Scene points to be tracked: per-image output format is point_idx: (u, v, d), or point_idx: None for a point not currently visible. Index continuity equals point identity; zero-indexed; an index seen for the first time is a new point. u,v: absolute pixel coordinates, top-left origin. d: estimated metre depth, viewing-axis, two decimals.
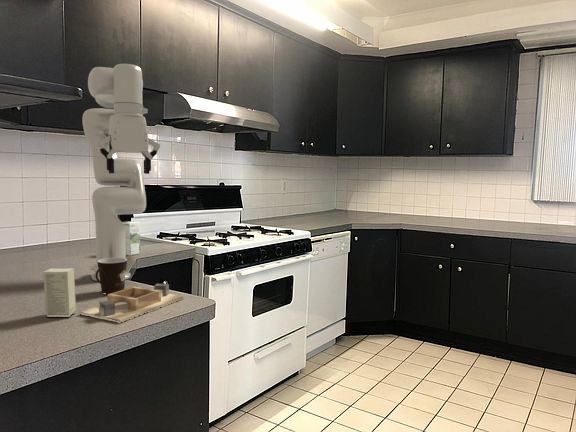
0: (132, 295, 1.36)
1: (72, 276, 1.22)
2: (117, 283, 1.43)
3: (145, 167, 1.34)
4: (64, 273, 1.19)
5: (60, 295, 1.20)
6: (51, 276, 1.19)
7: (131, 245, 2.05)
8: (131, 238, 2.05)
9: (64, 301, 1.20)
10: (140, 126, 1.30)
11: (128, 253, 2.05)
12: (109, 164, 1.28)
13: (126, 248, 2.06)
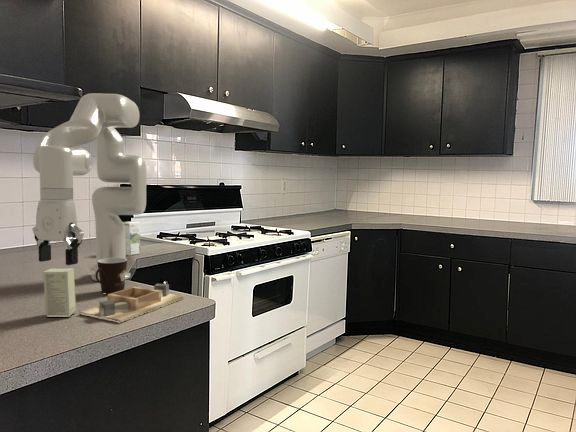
0: (132, 295, 1.36)
1: (72, 276, 1.22)
2: (117, 283, 1.43)
3: (46, 254, 1.23)
4: (64, 273, 1.19)
5: (60, 295, 1.20)
6: (51, 276, 1.19)
7: (131, 245, 2.05)
8: (131, 238, 2.05)
9: (64, 301, 1.20)
10: None
11: (128, 253, 2.05)
12: None
13: (126, 248, 2.06)
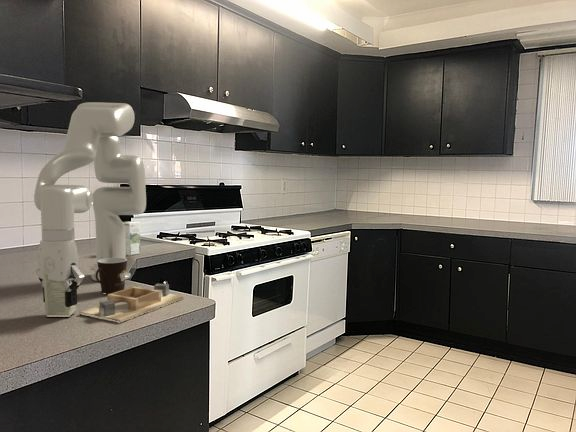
0: (132, 295, 1.36)
1: None
2: (117, 283, 1.43)
3: None
4: None
5: (60, 295, 1.20)
6: None
7: (131, 245, 2.05)
8: (131, 238, 2.05)
9: (64, 301, 1.20)
10: None
11: (128, 253, 2.05)
12: None
13: (126, 248, 2.06)
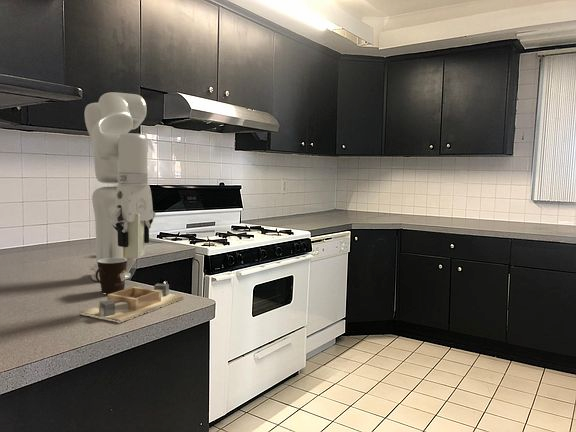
0: (132, 295, 1.36)
1: None
2: (117, 283, 1.43)
3: None
4: None
5: (142, 234, 1.31)
6: None
7: None
8: None
9: (143, 239, 1.32)
10: None
11: None
12: None
13: None
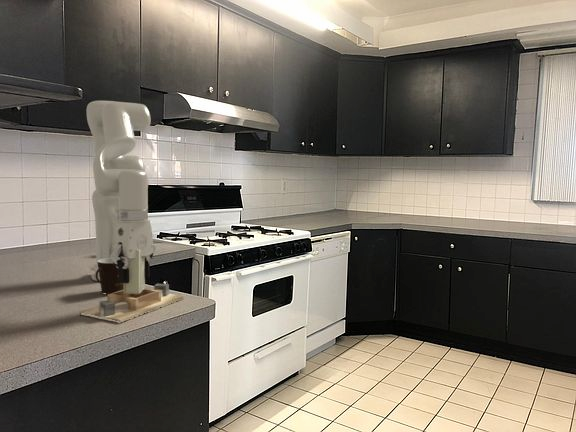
0: (132, 295, 1.36)
1: None
2: (117, 283, 1.43)
3: None
4: None
5: (143, 269, 1.31)
6: None
7: None
8: None
9: (144, 274, 1.33)
10: None
11: None
12: None
13: None
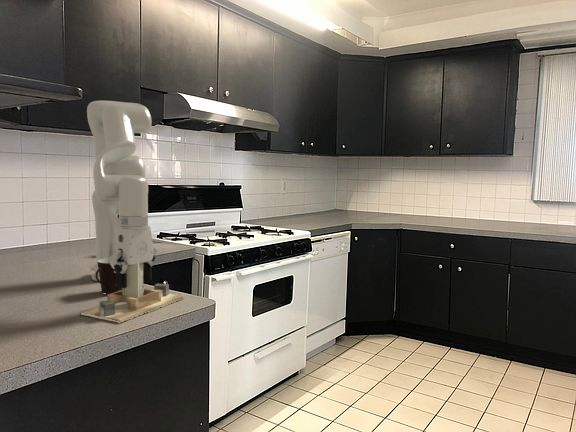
0: None
1: None
2: None
3: None
4: None
5: (142, 281, 1.32)
6: (140, 265, 1.29)
7: None
8: None
9: (142, 286, 1.33)
10: None
11: None
12: None
13: None
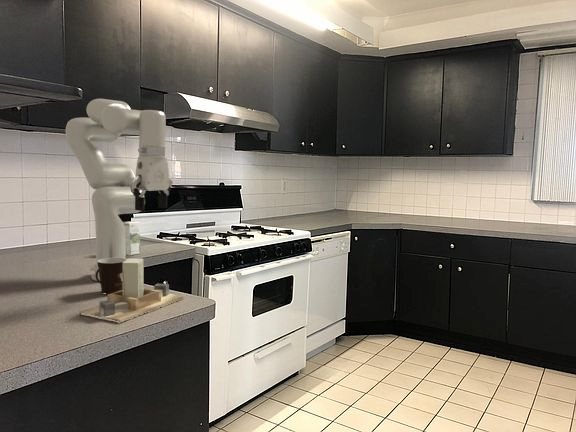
0: None
1: None
2: (117, 283, 1.43)
3: None
4: None
5: (142, 281, 1.32)
6: (140, 265, 1.29)
7: (131, 245, 2.05)
8: (131, 238, 2.05)
9: (142, 286, 1.33)
10: None
11: (128, 253, 2.05)
12: None
13: (126, 248, 2.06)
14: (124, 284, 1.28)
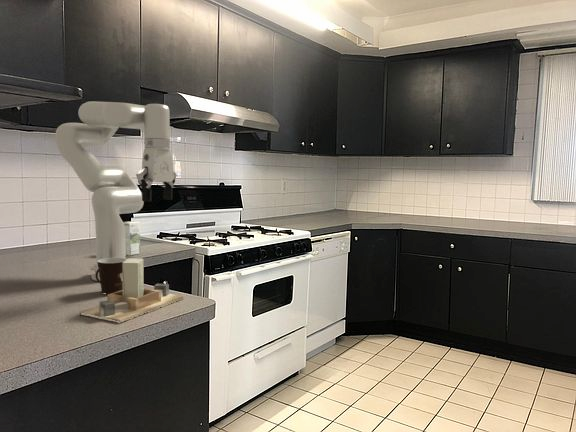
0: None
1: None
2: (117, 283, 1.43)
3: None
4: None
5: (142, 281, 1.32)
6: (140, 265, 1.29)
7: (131, 245, 2.05)
8: (131, 238, 2.05)
9: (142, 286, 1.33)
10: None
11: (128, 253, 2.05)
12: None
13: (126, 248, 2.06)
14: (124, 284, 1.28)
